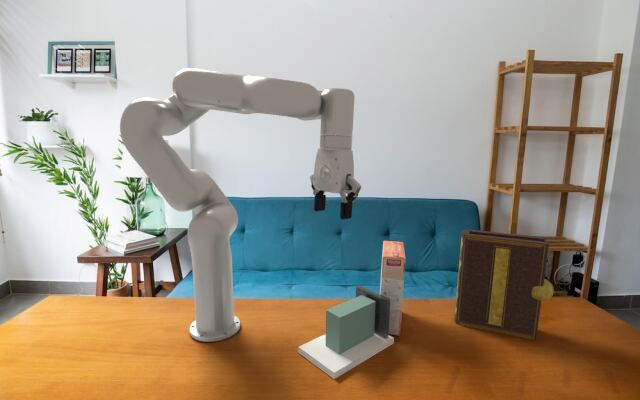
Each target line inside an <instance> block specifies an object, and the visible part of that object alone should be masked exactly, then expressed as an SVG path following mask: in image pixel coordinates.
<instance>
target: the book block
mask: <svg viewBox="0 0 640 400" xmlns="http://www.w3.org/2000/svg"><path fill="white" fill-rule="evenodd" d="M375 303H376V301H374V300H371V299H369V298H367V297H365V296H363V295H361V296H358V297H356V296H355V297H354V298H351V299H349V300H346V301H344V302H342V303H339V304H337V305H334V306H332V307H330V308H328V309H325V334H326V347H328V348H329V349H331V350H332V351H334V352H336V353H337V354H339V355H340V354H342V353H343V352H345V351H347V350H349V349H351V348H352V347H354V346H356V345H358V344H360V343H362V342H363V341H365V340H367V339H369V338H371V337H372V336H374V326H375Z"/></svg>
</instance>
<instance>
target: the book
mask: <svg viewBox="0 0 640 400" xmlns="http://www.w3.org/2000/svg"><path fill="white" fill-rule="evenodd" d="M460 239H461V241H460V250H459V251H460V252H459V263H458V274H457V284H456V285H457V287H456V295H455V296H456V297H455V306H454V307H455V308H454V321H453V322H454V323H455V324H456V325H458V326H460V327H465V328H471V329H475V330H480V331H487V332H492V333H497V334H502V335H507V336H512V337H517V338H522V339H527V340H531V341H532V340H533V341H536V340H537V337H538V329H539V322H540V321H539V320H540V314H541V308H542V302H544V301H546V302H547V301H548V300H551V299H552V297H553V295H554V286H553V283H551V282H550V281H549V280H548V279H545V278H546V276H545V275H546V269H547V262H548V261H547V260H548V254H549V248H550V245H549V244H550V243H549V242H548V241H546V238H545V237H544V236H538V235H537V236H536V235H525V234H515V233H508V232H507V233H506V232H495V231H485V230H477V229H476V230H475V229H462V230H461V238H460Z"/></svg>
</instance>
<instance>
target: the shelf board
mask: <svg viewBox="0 0 640 400" xmlns="http://www.w3.org/2000/svg"><path fill="white" fill-rule="evenodd" d="M394 340H395V337H393V336H392V335H389V334H388V338H386V339H384V338H382V337H380V336H378V335H377V334H375V333H374V336H372V337H371V338H369V339H367V340H365V341H363V342H362V343H360V344H358V345H356V346H354V347H352V348H351V349H349V350H347V351H345V352H343V353H342V354H340V355H339V354H337V353H336V352H334V351H332V350H331V349H329V348H328V347H326V333H324V334H323V335H320V336H318V337H316V338H314V339H312V340H310V341H308V342H306V343H304V344H302V345H299V346H298V350H297V351H298V355H299V354H300V355H301V356H303V358H305V359H307V360H308V361H309V362H310V363H311V364H313V365H314V366H316V367H317V368H318V369H319V370H320V371H322V372H324V373H325V374H327V375H328V376H329V377H331V378H332V379H333V380H335V379H337V378H339V377H341V376H342V375H344V374H345V373H348V372H349V371H350V370H353V368H355V367H357V366H359V365H360V364H361V363H364V362H365V361H367V360H369V359H370V358H372V357H373V356H376V354H378V353H380V352H382V351H383V350H385V349H387V348H389V347H390V346H392V345H393V344H394V343H395V341H394Z"/></svg>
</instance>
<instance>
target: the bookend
mask: <svg viewBox="0 0 640 400" xmlns="http://www.w3.org/2000/svg"><path fill="white" fill-rule="evenodd" d="M361 295H363V296H365V297H367V298H369V299H371V300H374V301H376V303H375V326H374V333H375V334H377V335H378V336H380V337H382V338H384V339H386V338H388V335H389V314H390V299H389V298H387V297H384V296H382V295H380V293H377V292H375V291H373V290H371V289H368V288H366V287H363V286H362V285H357V286H355V298H356V297H358V296H361Z"/></svg>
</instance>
